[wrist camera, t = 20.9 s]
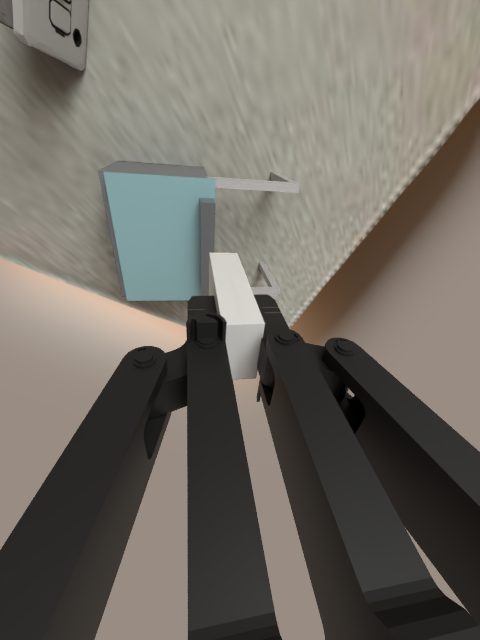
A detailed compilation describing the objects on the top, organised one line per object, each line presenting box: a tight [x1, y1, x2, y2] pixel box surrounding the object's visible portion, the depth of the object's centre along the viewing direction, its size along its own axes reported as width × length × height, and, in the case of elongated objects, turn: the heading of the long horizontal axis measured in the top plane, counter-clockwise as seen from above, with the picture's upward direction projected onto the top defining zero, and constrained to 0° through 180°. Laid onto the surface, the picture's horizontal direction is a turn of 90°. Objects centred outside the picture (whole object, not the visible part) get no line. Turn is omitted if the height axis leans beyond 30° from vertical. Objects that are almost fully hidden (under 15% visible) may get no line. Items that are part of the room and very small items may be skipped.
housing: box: [98, 161, 300, 297], centre depth 40 cm, size 23×16×10 cm
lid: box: [103, 172, 216, 301], centre depth 34 cm, size 12×16×3 cm
